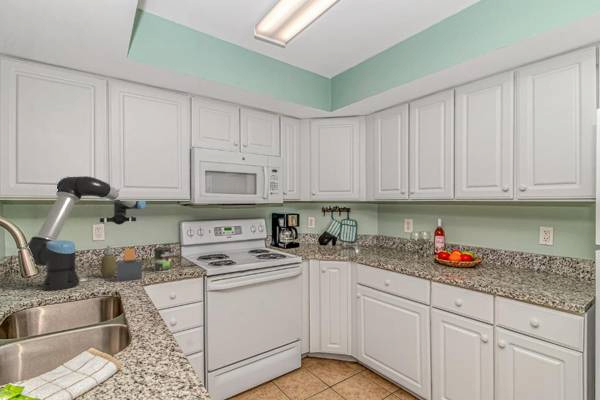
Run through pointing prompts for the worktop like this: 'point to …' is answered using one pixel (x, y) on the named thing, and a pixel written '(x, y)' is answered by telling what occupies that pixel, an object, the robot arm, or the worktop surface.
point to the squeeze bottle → (108, 264)
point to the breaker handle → (129, 255)
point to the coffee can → (162, 259)
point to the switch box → (129, 270)
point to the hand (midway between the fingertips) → (117, 220)
